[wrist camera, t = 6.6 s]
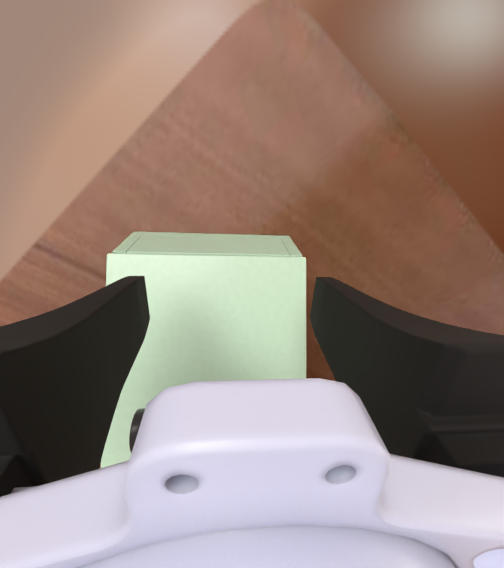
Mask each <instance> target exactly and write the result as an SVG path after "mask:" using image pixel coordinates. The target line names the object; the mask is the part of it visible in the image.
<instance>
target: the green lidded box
mask: <svg viewBox="0 0 504 568" xmlns="http://www.w3.org/2000/svg"><path fill="white" fill-rule="evenodd" d="M113 253H120V254H170V255H219V256H269V257H302V254H301V253H300V251H299V250H298V248H297V247H296V246H295V244H294V243H293V241H292V240H291V238H290V237H289V236H277V235H240V234H204V233H168V232H133V233H132V234H131V235H129V236H128V237H127V238H126V239H125V240H124V241H123V242H122V243H121V244H120V245H119V246H118V247H117V248H116V249H115V250H114V251H113Z"/></svg>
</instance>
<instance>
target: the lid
mask: <svg viewBox="0 0 504 568" xmlns="http://www.w3.org/2000/svg"><path fill="white" fill-rule="evenodd" d="M127 276H145V284H146V291H147V298H148V306H149V313H150V321H149V325H148V329H147V332H146V336H145V339H144V341H143V344H142V346H141V348H140V350H139V353H138V355H137V357H136V359H135V361H134V364H133V366H132V368H131V370H130V373H129V375H128V377H127V379H126V381H125V384H124V386H123V389H122V391H121V394H120V397H119V400H118V403H117V407H116V410H115V413H114V416H113V419H112V423H111V426H110V430H109V433H108V436H107V440H106V443H105V447H104V451H103V455H102V458H101V468H104V467H107V466H111V465H114V464H118V463H121V462H125V461H128V460H130V457H131V453H132V450H133V447H134V444H135V440H136V437H137V434H138V431H139V427H140V424H141V421H142V417H143V414H144V411H145V408H146V404H147V403H148V402H150V401H151V400H152V399H153V398H154V397H156V396H157V395H158V394H159V393H161V392H162V391H163V390H164V389H166V388H169V387H173V386H178V385H182V384H187V383H191V382H196V381H232V380H269V379H306V258H305V257H269V256H219V255H170V254H120V253H108V254H107V268H106V286H107V285H109V284H111V283H113V282H115V281H117V280H119V279H122V278H124V277H127Z"/></svg>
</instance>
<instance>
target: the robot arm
mask: <svg viewBox="0 0 504 568" xmlns="http://www.w3.org/2000/svg"><path fill="white" fill-rule="evenodd" d="M310 320H311V323H312V327H313V330H314V334H315V336H316V339H317V341H318V343H319V345H320V347H321V349H322V352H323V354H324V356H325V358H326V360H327V362H328V364H329V366H330V368H331V370H332V372H333V375H334V377H335V379H336V381H331V380H326V379H321V378H307V379H269V380H232V381H196V382H191V383H187V384H182V385H178V386H173V387H169V388H166V389H164V390H163V391H162V392H161V393H159V394H158V395H157V396H156V397H154V398H153V399H152V400H151V401H150V402H148V403H147V404H146V408H145V411H144V414H143V417H142V421H141V424H140V427H139V431H138V434H137V437H136V440H135V444H134V447H133V450H132V453H131V457H130V460H128V461H125V462H121V463H118V464H114V465H111V466H107V467H104V468H100V469H99V466H100V462H101V458H102V455H103V451H104V447H105V443H106V440H107V436H108V433H109V430H110V426H111V423H112V419H113V416H114V413H115V410H116V407H117V403H118V400H119V397H120V394H121V391H122V389H123V386H124V384H125V381H126V379H127V377H128V375H129V373H130V370H131V368H132V366H133V364H134V361H135V359H136V357H137V355H138V353H139V350H140V348H141V346H142V344H143V341H144V339H145V336H146V332H147V329H148V325H149V321H150V313H149V306H148V298H147V291H146V284H145V276H127V277H124V278H122V279H119V280H117V281H115V282H113V283H111V284H109V285H107V286H105V287H103V288H101V289H100V290H98V291H96V292H94V293H92V294H89V295H87V296H85V297H83V298H81V299H79V300H76V301H74V302H72V303H70V304H68V305H65V306H63V307H60V308H58V309H55V310H52V311H50V312H47V313H44V314H41V315H39V316H36V317H32V318H29V319H26V320H22V321H19V322H15V323H12V324H9V325H5V326H2V327H0V568H504V335H498V334H492V333H485V332H480V331H475V330H470V329H466V328H461V327H456V326H452V325H448V324H444V323H440V322H437V321H434V320H430V319H427V318H423V317H420V316H417V315H414V314H411V313H408V312H406V311H403V310H400V309H397V308H395V307H392V306H390V305H388V304H385V303H383V302H381V301H379V300H377V299H374V298H372V297H370V296H368V295H366V294H364V293H362V292H360V291H358V290H356V289H354V288H353V287H351V286H349V285H347V284H345V283H343V282H341V281H339V280H336V279H334V278H331V277H316V283H315V289H314V295H313V301H312V307H311V313H310Z"/></svg>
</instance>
